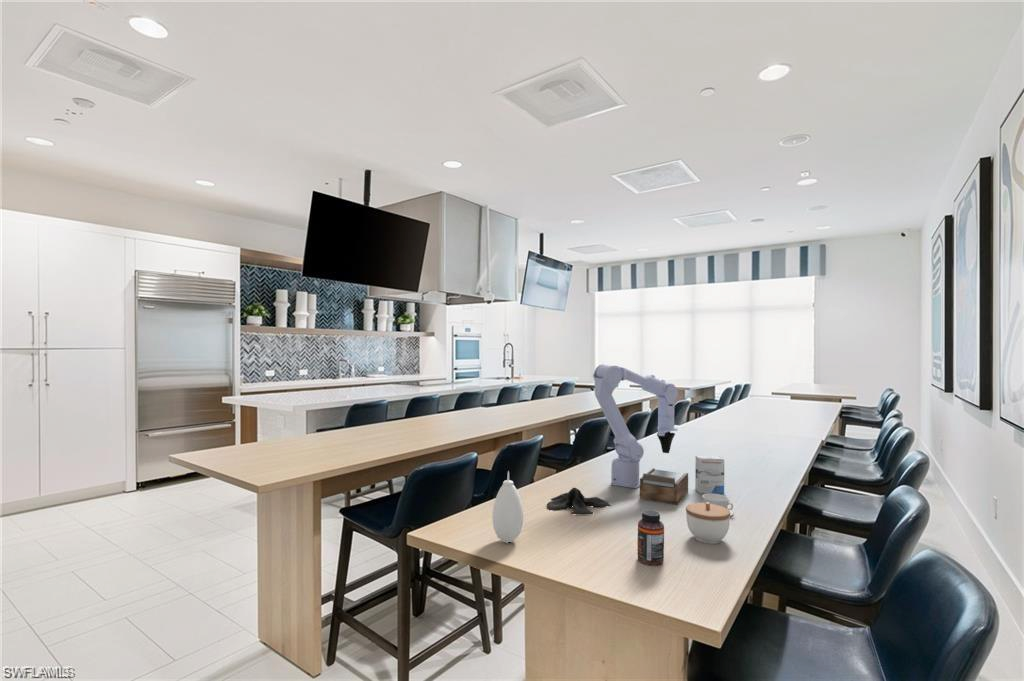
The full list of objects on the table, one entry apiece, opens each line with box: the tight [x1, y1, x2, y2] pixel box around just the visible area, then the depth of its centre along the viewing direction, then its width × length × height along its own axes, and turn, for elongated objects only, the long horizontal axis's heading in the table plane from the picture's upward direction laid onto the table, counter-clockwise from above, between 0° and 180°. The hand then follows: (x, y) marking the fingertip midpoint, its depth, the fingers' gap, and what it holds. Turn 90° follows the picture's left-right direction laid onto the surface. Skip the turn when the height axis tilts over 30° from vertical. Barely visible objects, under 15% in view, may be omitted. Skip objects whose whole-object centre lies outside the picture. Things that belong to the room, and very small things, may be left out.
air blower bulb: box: [492, 470, 524, 543], centre depth 128 cm, size 8×8×18 cm
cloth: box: [546, 487, 612, 515], centre depth 158 cm, size 22×19×6 cm
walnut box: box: [638, 468, 689, 506], centre depth 168 cm, size 12×16×6 cm
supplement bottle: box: [637, 509, 665, 566], centre depth 118 cm, size 6×6×11 cm
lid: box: [642, 469, 685, 487], centre depth 168 cm, size 10×16×3 cm, turn 149°
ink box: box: [694, 455, 725, 495], centre depth 173 cm, size 8×5×12 cm, turn 84°
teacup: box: [702, 493, 735, 517], centre depth 152 cm, size 10×10×5 cm
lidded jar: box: [685, 502, 731, 545], centre depth 131 cm, size 11×11×9 cm
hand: (665, 452), depth 186 cm, fingers closed
